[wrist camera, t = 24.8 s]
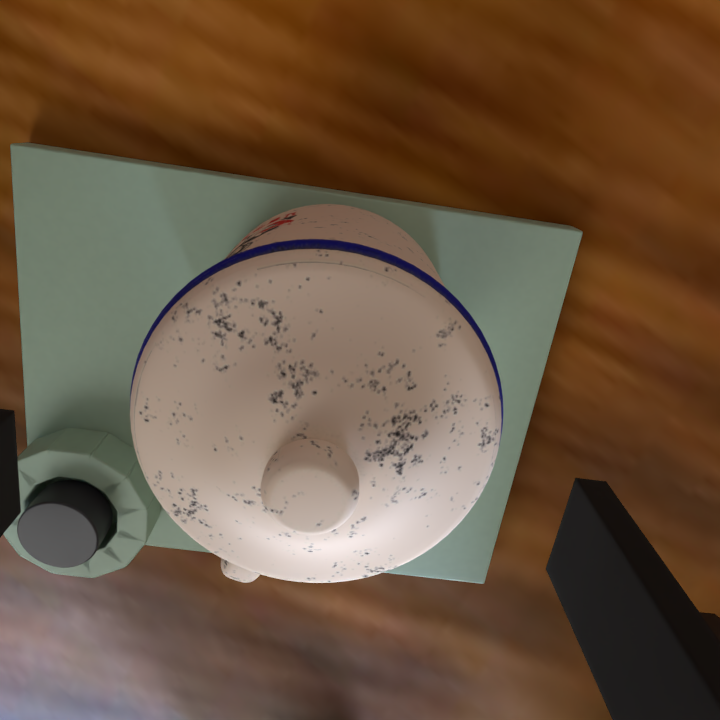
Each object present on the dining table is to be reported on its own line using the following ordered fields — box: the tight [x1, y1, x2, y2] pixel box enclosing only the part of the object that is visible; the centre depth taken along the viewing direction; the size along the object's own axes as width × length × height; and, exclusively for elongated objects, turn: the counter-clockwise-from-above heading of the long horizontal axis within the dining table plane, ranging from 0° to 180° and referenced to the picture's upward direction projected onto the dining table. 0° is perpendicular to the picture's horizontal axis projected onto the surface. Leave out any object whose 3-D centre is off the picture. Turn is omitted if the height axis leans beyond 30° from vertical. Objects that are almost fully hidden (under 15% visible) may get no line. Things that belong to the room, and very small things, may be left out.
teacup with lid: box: [130, 204, 503, 583], centre depth 18 cm, size 12×9×12 cm
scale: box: [3, 143, 583, 584], centre depth 24 cm, size 20×16×3 cm
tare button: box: [17, 480, 113, 568], centre depth 23 cm, size 3×3×2 cm
